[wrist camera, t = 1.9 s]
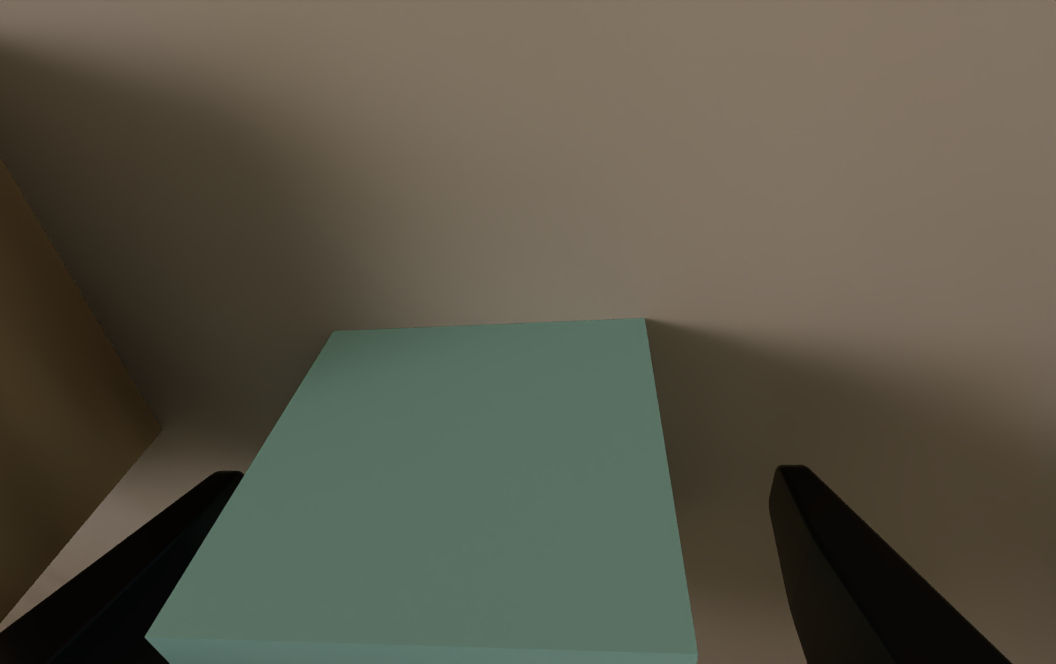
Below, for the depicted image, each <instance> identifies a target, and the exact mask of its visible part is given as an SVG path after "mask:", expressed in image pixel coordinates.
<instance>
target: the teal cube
mask: <svg viewBox="0 0 1056 664" xmlns="http://www.w3.org/2000/svg"><path fill="white" fill-rule="evenodd" d="M145 638H146V639H147V640H148V641H149V643H150V644H151V645H152V646H153V647H154V648H155V649H156V650H157V651H158V652H159V653H160V654H161V655H162V656H163V657H164V658H165V659H166V660H167V661H168V662H169V663H170V664H697V658H698V651H697V644H696V638H695V632H694V625H693V619H692V613H691V607H690V600H689V594H688V588H687V581H686V575H685V569H684V563H683V556H682V550H681V544H680V537H679V531H678V525H677V519H676V512H675V506H674V500H673V493H672V487H671V481H670V474H669V468H668V462H667V456H666V449H665V443H664V437H663V430H662V424H661V418H660V412H659V405H658V399H657V393H656V386H655V380H654V374H653V368H652V361H651V355H650V349H649V342H648V336H647V330H646V324H645V318H635V319H611V320H587V321H563V322H539V323H515V324H491V325H467V326H443V327H419V328H395V329H371V330H347V331H333V333H332V334H331V336H330V337H329V339H328V341H327V342H326V344H325V346H324V347H323V349H322V350H321V352H320V354H319V355H318V357H317V359H316V360H315V362H314V363H313V365H312V367H311V368H310V370H309V371H308V373H307V375H306V376H305V378H304V380H303V381H302V383H301V384H300V386H299V388H298V389H297V391H296V392H295V394H294V396H293V397H292V399H291V401H290V402H289V404H288V405H287V407H286V409H285V410H284V412H283V414H282V415H281V417H280V418H279V420H278V422H277V423H276V425H275V426H274V428H273V430H272V431H271V433H270V435H269V436H268V438H267V439H266V441H265V443H264V444H263V446H262V448H261V449H260V451H259V452H258V454H257V456H256V457H255V459H254V460H253V462H252V464H251V465H250V467H249V469H248V470H247V472H246V473H245V475H244V477H243V478H242V480H241V482H240V483H239V485H238V486H237V488H236V490H235V491H234V493H233V494H232V496H231V498H230V499H229V501H228V503H227V504H226V506H225V507H224V509H223V511H222V512H221V514H220V516H219V517H218V519H217V520H216V522H215V524H214V525H213V527H212V528H211V530H210V532H209V533H208V535H207V537H206V538H205V540H204V541H203V543H202V545H201V546H200V548H199V549H198V551H197V553H196V554H195V556H194V558H193V559H192V561H191V562H190V564H189V566H188V567H187V569H186V571H185V572H184V574H183V575H182V577H181V579H180V580H179V582H178V583H177V585H176V587H175V588H174V590H173V592H172V593H171V595H170V596H169V598H168V600H167V601H166V603H165V605H164V606H163V608H162V609H161V611H160V613H159V614H158V616H157V617H156V619H155V621H154V622H153V624H152V626H151V627H150V629H149V630H148V632H147V634H146V635H145Z"/></svg>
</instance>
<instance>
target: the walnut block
mask: <svg viewBox="0 0 1056 664" xmlns="http://www.w3.org/2000/svg"><path fill="white" fill-rule="evenodd" d="M161 431H162V429H161V427H160V425H159V424H158V422H157V420H156V419H155V417H154V415H153V414H152V412H151V410H150V409H149V407H148V405H147V404H146V402H145V400H144V398H143V397H142V395H141V393H140V392H139V390H138V388H137V387H136V385H135V383H134V382H133V380H132V378H131V377H130V375H129V373H128V371H127V370H126V368H125V366H124V365H123V363H122V361H121V360H120V358H119V356H118V355H117V353H116V351H115V350H114V348H113V346H112V344H111V343H110V341H109V339H108V338H107V336H106V334H105V333H104V331H103V329H102V328H101V326H100V324H99V323H98V321H97V319H96V317H95V316H94V314H93V312H92V311H91V309H90V307H89V306H88V304H87V302H86V301H85V299H84V297H83V296H82V294H81V292H80V290H79V289H78V287H77V285H76V284H75V282H74V280H73V279H72V277H71V275H70V274H69V272H68V270H67V269H66V267H65V265H64V263H63V262H62V260H61V258H60V257H59V255H58V253H57V252H56V250H55V248H54V247H53V245H52V243H51V242H50V240H49V238H48V236H47V235H46V233H45V231H44V230H43V228H42V226H41V225H40V223H39V221H38V220H37V218H36V216H35V215H34V213H33V211H32V209H31V208H30V206H29V204H28V203H27V201H26V199H25V198H24V196H23V194H22V193H21V191H20V189H19V188H18V186H17V184H16V182H15V181H14V179H13V177H12V176H11V174H10V172H9V171H8V169H7V167H6V166H5V164H4V162H3V161H2V159H1V157H0V623H1V622H2V621H3V619H4V618H5V617H6V616H7V615H8V613H9V612H10V611H11V610H12V609H13V607H14V606H15V605H16V604H17V603H18V602H19V600H20V599H21V598H22V597H23V596H24V594H25V593H26V592H27V591H28V590H29V588H30V587H31V586H32V585H33V584H34V582H35V581H36V580H37V579H38V578H39V576H40V575H41V574H42V573H43V572H44V570H45V569H46V568H47V567H48V566H49V564H50V563H51V562H52V561H53V560H54V559H55V557H56V556H57V555H58V554H59V553H60V551H61V550H62V549H63V548H64V547H65V545H66V544H67V543H68V542H69V541H70V539H71V538H72V537H73V536H74V535H75V533H76V532H77V531H78V530H79V529H80V527H81V526H82V525H83V524H84V523H85V521H86V520H87V519H88V518H89V517H90V516H91V514H92V513H93V512H94V511H95V510H96V508H97V507H98V506H99V505H100V504H101V502H102V501H103V500H104V499H105V498H106V496H107V495H108V494H109V493H110V492H111V490H112V489H113V488H114V487H115V486H116V484H117V483H118V482H119V481H120V480H121V478H122V477H123V476H124V475H125V474H126V473H127V471H128V470H129V469H130V468H131V467H132V465H133V464H134V463H135V462H136V461H137V459H138V458H139V457H140V456H141V455H142V453H143V452H144V451H145V450H146V449H147V447H148V446H149V445H150V444H151V443H152V441H153V440H154V439H155V438H156V437H157V435H158V434H159V433H160V432H161Z"/></svg>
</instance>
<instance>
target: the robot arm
mask: <svg viewBox="0 0 1056 664" xmlns="http://www.w3.org/2000/svg"><path fill="white" fill-rule="evenodd" d="M243 477H244V474H243V473H242V472H240V471H218V472H215V473H213V474H212V475H210V476H209V477H207V478H206V479H205V480H203V481H202V482H201V483H199V484H198V485H197V486H195V487H194V488H193V489H191V490H190V491H189V492H187V493H186V494H185V495H183V496H182V497H181V498H179V499H178V500H177V501H175V502H174V503H173V504H171V505H170V506H169V507H167V508H166V509H165V510H163V511H162V512H161V513H159V514H158V515H157V516H155V517H154V518H153V519H151V520H150V521H149V522H147V523H146V524H145V525H143V526H142V527H141V528H139V529H138V530H137V531H135V532H134V533H133V534H131V535H130V536H129V537H127V538H126V539H125V540H123V541H122V542H121V543H119V544H118V545H117V546H115V547H114V548H113V549H111V550H110V551H109V552H107V553H106V554H105V555H103V556H102V557H101V558H99V559H98V560H97V561H95V562H94V563H93V564H91V565H90V566H89V567H87V568H86V569H85V570H83V571H82V572H81V573H79V574H78V575H77V576H75V577H74V578H73V579H71V580H70V581H69V582H67V583H66V584H65V585H63V586H62V587H61V588H59V589H58V590H57V591H55V592H54V593H53V594H51V595H50V596H49V597H47V598H46V599H45V600H43V601H42V602H41V603H39V604H38V605H37V606H35V607H34V608H33V609H31V610H30V611H29V612H27V613H26V614H25V615H23V616H22V617H21V618H19V619H18V620H17V621H15V622H14V623H13V624H11V625H10V626H9V627H7V628H6V629H5V630H3V631H2V632H1V633H0V664H170V663H169V662H168V661H167V660H166V659H165V658H164V657H163V656H162V655H161V654H160V653H159V652H158V651H157V650H156V649H155V648H154V647H153V646H152V645H151V644H150V643H149V641H148V640H147V639H146V638H145V635H146V634H147V632H148V630H149V629H150V627H151V626H152V624H153V622H154V621H155V619H156V617H157V616H158V614H159V613H160V611H161V609H162V608H163V606H164V605H165V603H166V601H167V600H168V598H169V596H170V595H171V593H172V592H173V590H174V588H175V587H176V585H177V583H178V582H179V580H180V579H181V577H182V575H183V574H184V572H185V571H186V569H187V567H188V566H189V564H190V562H191V561H192V559H193V558H194V556H195V554H196V553H197V551H198V549H199V548H200V546H201V545H202V543H203V541H204V540H205V538H206V537H207V535H208V533H209V532H210V530H211V528H212V527H213V525H214V524H215V522H216V520H217V519H218V517H219V516H220V514H221V512H222V511H223V509H224V507H225V506H226V504H227V503H228V501H229V499H230V498H231V496H232V494H233V493H234V491H235V490H236V488H237V486H238V485H239V483H240V482H241V480H242V478H243ZM769 511H770V517H771V522H772V526H773V531H774V536H775V541H776V546H777V551H778V555H779V560H780V565H781V570H782V575H783V580H784V584H785V589H786V594H787V598H788V603H789V607H790V611H791V614H792V617H793V621H794V624H795V627H796V630H797V633H798V636H799V639H800V642H801V645H802V649H803V652H804V655H805V658H806V661H807V664H1012V663H1011V662H1010V661H1009V660H1008V659H1007V658H1006V657H1005V656H1004V655H1003V654H1002V653H1001V652H1000V651H999V650H998V649H997V648H996V647H994V646H993V645H992V644H991V643H990V642H989V641H988V640H987V639H986V638H985V637H984V636H983V635H982V634H981V633H980V632H979V631H978V630H977V629H976V628H975V627H974V626H973V625H972V624H971V623H969V622H968V621H967V620H966V619H965V618H964V617H963V616H962V615H961V614H960V613H959V612H958V611H957V610H956V609H955V608H954V607H953V606H952V605H951V604H950V603H949V602H948V601H947V600H946V599H945V598H943V597H942V596H941V595H940V594H939V593H938V592H937V591H936V590H935V589H934V588H933V587H932V586H931V585H930V584H929V583H928V582H927V581H926V580H925V579H924V578H923V577H922V576H921V575H920V574H918V573H917V572H916V571H915V570H914V569H913V568H912V567H911V566H910V565H909V564H908V563H907V562H906V561H905V560H904V559H903V558H902V557H901V556H900V555H899V554H898V553H897V552H896V551H895V550H893V549H892V548H891V547H890V546H889V545H888V544H887V543H886V542H885V541H884V540H883V539H882V538H881V537H880V536H879V535H878V534H877V533H876V532H875V531H874V530H873V529H872V528H871V527H870V526H869V525H867V524H866V523H865V522H864V521H863V520H862V519H861V518H860V517H859V516H858V515H857V514H856V513H855V512H854V511H853V510H852V509H851V508H850V507H849V506H848V505H847V504H846V503H845V502H844V501H842V500H841V499H840V498H839V497H838V496H837V495H836V494H835V493H834V492H833V491H832V490H831V489H830V488H829V487H828V486H827V485H826V484H825V483H824V482H823V481H822V480H821V479H820V478H819V477H818V476H816V475H815V474H814V473H813V472H812V471H811V470H810V469H809V468H808V467H806V466H804V465H780V466H778V467H777V468H776V470H775V474H774V479H773V483H772V488H771V492H770V497H769Z"/></svg>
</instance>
